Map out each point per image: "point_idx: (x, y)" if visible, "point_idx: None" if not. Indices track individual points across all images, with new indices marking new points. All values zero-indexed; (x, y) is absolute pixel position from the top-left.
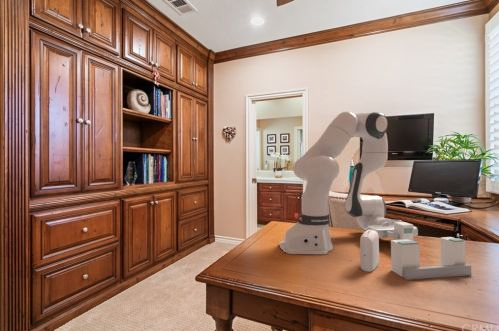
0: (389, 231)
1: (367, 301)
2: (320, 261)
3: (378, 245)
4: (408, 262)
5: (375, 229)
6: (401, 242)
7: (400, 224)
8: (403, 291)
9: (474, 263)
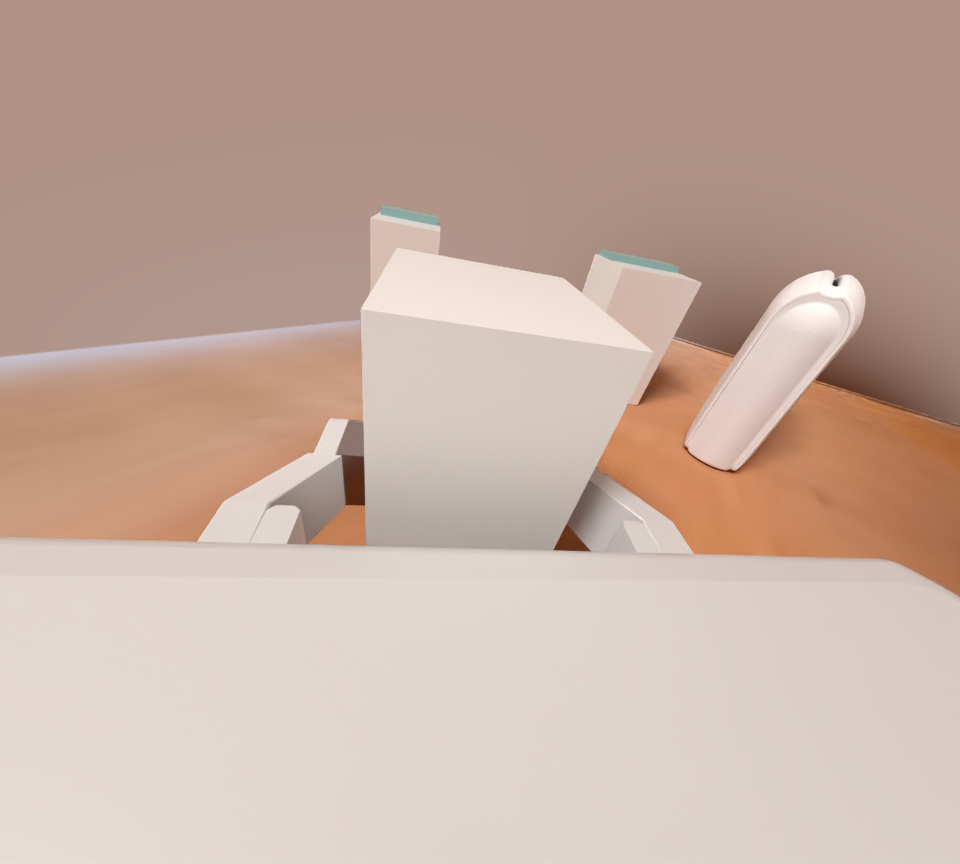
0: (645, 543)
1: (704, 355)
2: (955, 513)
3: (736, 357)
4: None
5: (925, 581)
6: (664, 263)
7: (575, 289)
8: None
9: (215, 365)
